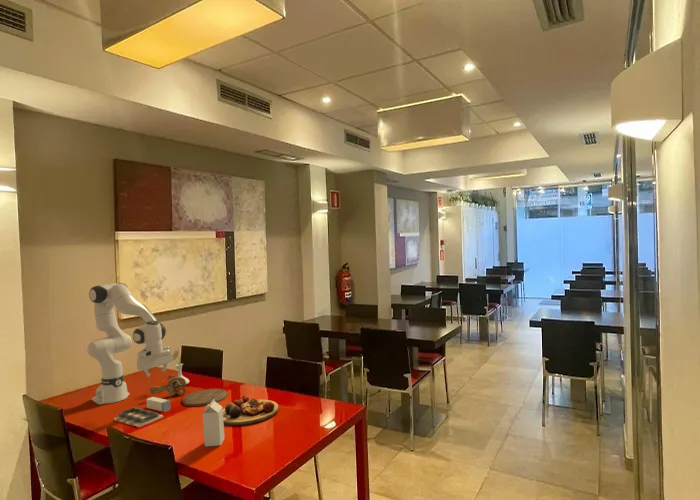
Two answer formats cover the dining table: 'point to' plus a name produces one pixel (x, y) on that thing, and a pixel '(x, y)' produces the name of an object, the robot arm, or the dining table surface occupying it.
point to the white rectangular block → (158, 404)
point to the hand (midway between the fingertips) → (156, 374)
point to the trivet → (204, 397)
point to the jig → (137, 417)
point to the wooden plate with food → (248, 411)
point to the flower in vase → (179, 366)
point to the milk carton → (213, 424)
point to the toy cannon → (171, 386)
